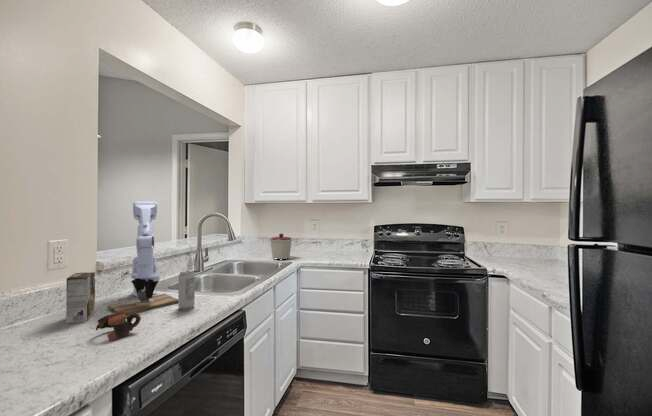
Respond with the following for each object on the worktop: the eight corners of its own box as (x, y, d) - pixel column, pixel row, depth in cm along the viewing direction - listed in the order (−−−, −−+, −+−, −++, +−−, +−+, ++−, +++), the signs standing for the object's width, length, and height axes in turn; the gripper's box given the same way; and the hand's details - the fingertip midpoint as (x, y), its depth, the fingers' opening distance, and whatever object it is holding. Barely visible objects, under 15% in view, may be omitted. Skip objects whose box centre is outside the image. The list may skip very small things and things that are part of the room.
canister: (266, 260, 238) (266, 234, 238) (274, 257, 256) (275, 232, 256) (287, 261, 234) (287, 234, 234) (295, 258, 252) (295, 232, 252)
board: (108, 307, 123) (108, 302, 123) (164, 296, 140) (165, 291, 140) (120, 316, 113) (120, 310, 113) (179, 302, 130) (179, 297, 130)
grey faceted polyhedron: (140, 296, 129) (140, 287, 129) (154, 296, 129) (154, 287, 129) (135, 300, 124) (135, 290, 124) (149, 299, 125) (149, 290, 125)
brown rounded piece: (97, 346, 90) (91, 320, 92) (104, 348, 98) (98, 324, 100) (142, 328, 96) (136, 303, 98) (145, 331, 104) (139, 308, 106)
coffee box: (74, 315, 114) (75, 272, 114) (95, 313, 117) (95, 271, 117) (65, 324, 106) (65, 278, 106) (87, 321, 108) (88, 276, 108)
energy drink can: (187, 304, 128) (188, 269, 128) (197, 306, 125) (198, 270, 125) (175, 308, 123) (175, 271, 123) (185, 311, 120) (185, 273, 120)
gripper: (124, 264, 126) (123, 297, 126) (148, 267, 120) (148, 301, 120) (140, 261, 132) (139, 292, 132) (164, 264, 127) (163, 296, 127)
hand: (144, 296), depth 127 cm, fingers closed on grey faceted polyhedron, 5 cm apart
